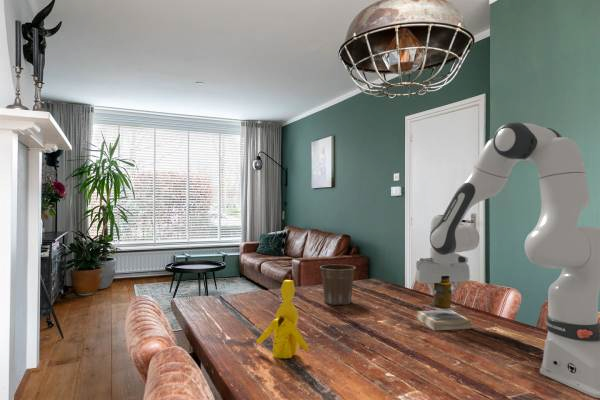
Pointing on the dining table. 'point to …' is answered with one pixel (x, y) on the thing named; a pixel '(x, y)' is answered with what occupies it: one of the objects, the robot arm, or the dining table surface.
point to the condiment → (442, 294)
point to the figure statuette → (285, 326)
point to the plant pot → (337, 283)
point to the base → (443, 320)
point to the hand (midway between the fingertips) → (442, 294)
